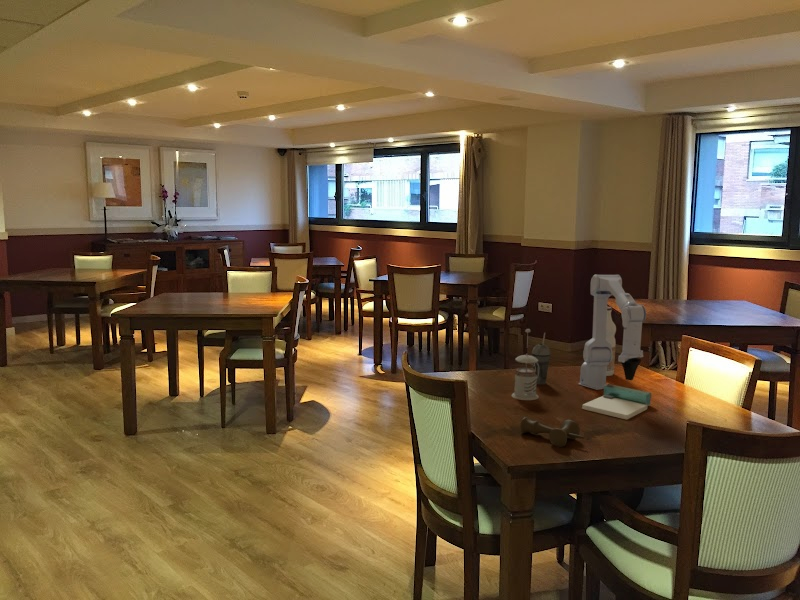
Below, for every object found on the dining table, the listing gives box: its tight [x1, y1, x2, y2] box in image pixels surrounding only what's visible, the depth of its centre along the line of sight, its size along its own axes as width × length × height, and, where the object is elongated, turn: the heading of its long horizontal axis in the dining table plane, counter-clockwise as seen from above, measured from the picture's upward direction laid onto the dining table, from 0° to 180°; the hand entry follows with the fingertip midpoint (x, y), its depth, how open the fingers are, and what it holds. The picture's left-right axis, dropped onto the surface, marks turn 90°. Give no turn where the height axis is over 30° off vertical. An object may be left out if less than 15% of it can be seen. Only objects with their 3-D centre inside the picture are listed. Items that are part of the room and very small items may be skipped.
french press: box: [511, 328, 539, 401], centre depth 241 cm, size 10×12×25 cm
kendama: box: [519, 416, 585, 448], centre depth 198 cm, size 6×10×20 cm
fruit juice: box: [606, 305, 617, 377], centre depth 274 cm, size 9×9×28 cm
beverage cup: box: [531, 332, 551, 386], centre depth 259 cm, size 7×7×20 cm
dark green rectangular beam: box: [603, 383, 652, 407], centre depth 236 cm, size 16×4×5 cm, turn 47°
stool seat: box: [581, 394, 648, 420], centre depth 228 cm, size 16×16×2 cm
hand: (629, 379), depth 227 cm, fingers closed
